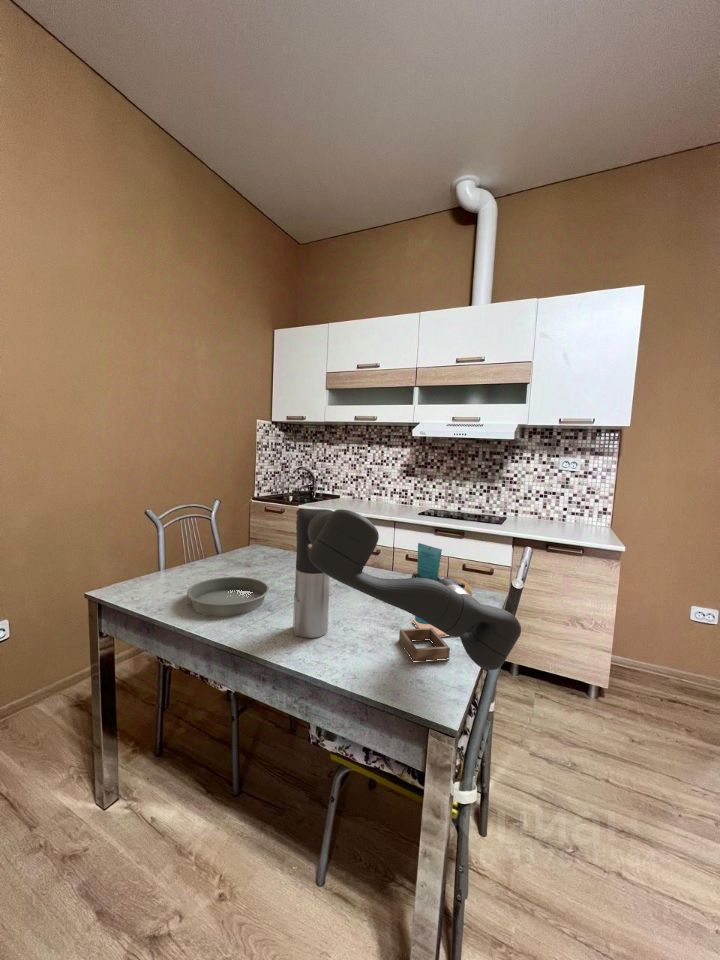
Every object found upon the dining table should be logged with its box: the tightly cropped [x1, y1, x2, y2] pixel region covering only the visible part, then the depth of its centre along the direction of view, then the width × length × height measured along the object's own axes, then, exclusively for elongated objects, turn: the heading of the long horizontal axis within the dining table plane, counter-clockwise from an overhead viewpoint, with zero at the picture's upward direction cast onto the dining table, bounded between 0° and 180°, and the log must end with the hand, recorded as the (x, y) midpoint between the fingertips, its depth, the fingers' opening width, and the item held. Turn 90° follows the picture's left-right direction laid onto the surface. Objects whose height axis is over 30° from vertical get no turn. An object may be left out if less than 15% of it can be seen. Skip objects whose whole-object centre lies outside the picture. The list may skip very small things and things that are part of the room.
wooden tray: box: [398, 628, 451, 662], centre depth 103 cm, size 9×11×3 cm
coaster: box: [412, 619, 447, 636], centre depth 116 cm, size 10×10×1 cm
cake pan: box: [186, 576, 270, 617], centre depth 128 cm, size 25×25×4 cm
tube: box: [414, 542, 443, 624], centre depth 102 cm, size 7×5×19 cm, turn 47°
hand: (423, 576), depth 105 cm, fingers closed on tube, 4 cm apart
